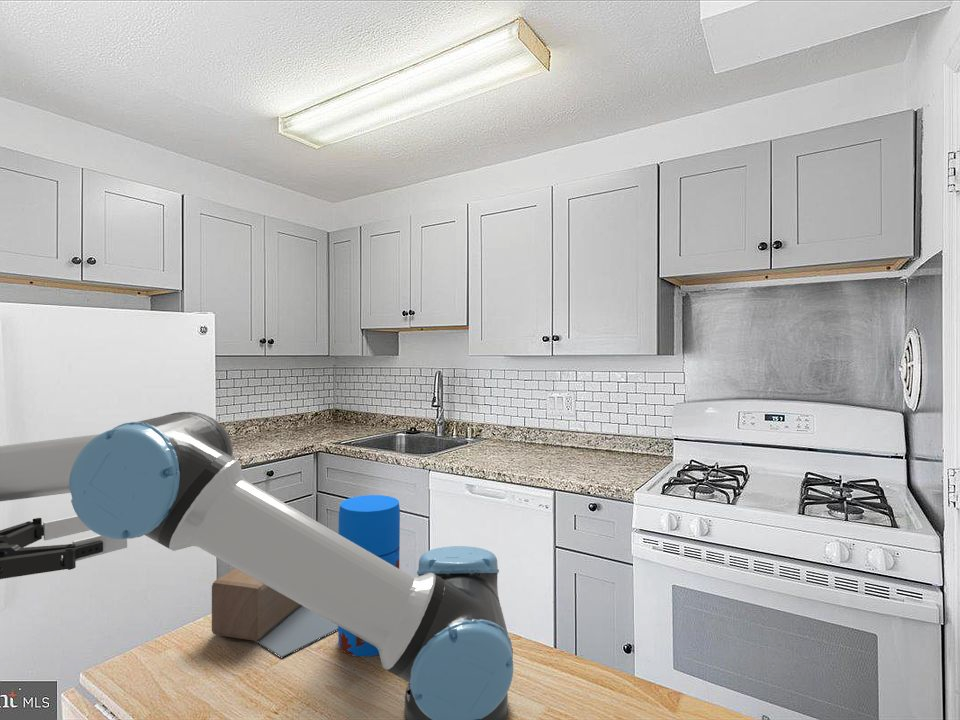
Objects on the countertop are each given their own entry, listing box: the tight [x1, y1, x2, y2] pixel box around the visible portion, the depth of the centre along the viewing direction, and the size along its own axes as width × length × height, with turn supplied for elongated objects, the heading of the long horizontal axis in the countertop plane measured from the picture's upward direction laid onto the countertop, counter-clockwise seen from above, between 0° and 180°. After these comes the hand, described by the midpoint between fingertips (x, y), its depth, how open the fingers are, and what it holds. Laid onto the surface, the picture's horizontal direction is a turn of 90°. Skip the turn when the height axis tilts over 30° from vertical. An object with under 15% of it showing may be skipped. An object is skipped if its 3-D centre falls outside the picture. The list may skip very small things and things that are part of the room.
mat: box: [252, 605, 338, 658], centre depth 105 cm, size 18×21×1 cm
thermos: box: [337, 494, 401, 658], centre depth 97 cm, size 11×11×25 cm
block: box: [211, 568, 300, 642], centre depth 105 cm, size 10×10×20 cm
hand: (109, 528), depth 84 cm, fingers open, 13 cm apart
